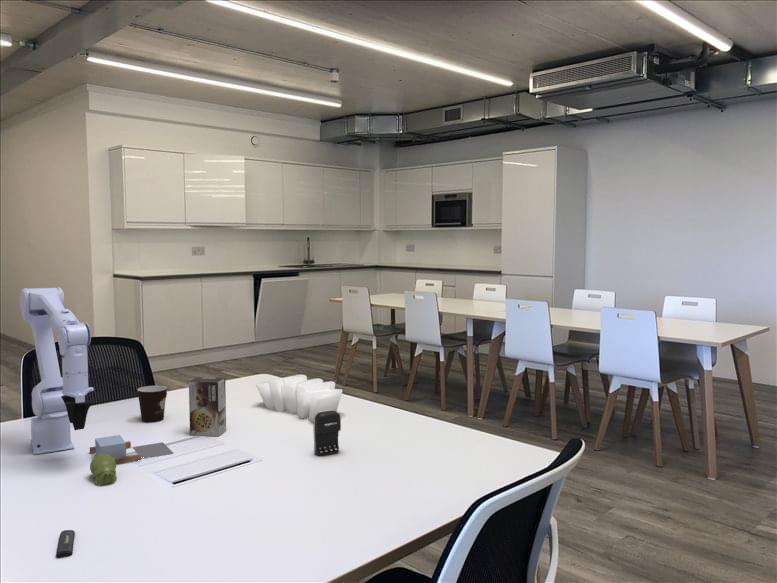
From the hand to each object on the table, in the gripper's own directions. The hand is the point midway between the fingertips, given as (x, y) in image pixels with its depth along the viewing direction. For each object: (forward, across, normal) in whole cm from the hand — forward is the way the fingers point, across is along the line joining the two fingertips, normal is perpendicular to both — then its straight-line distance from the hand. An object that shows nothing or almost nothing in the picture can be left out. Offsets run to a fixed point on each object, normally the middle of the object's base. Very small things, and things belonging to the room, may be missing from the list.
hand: (76, 425), depth 157 cm
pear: (+10, -15, -4) cm, 19 cm away
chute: (+10, 0, -9) cm, 13 cm away
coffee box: (+10, +8, -36) cm, 38 cm away
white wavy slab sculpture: (+10, +15, -69) cm, 72 cm away
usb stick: (+11, -47, +8) cm, 49 cm away
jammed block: (+10, 0, -8) cm, 12 cm away
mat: (+10, 0, -18) cm, 21 cm away
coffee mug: (+9, +31, -27) cm, 42 cm away
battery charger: (+10, -27, -56) cm, 64 cm away
